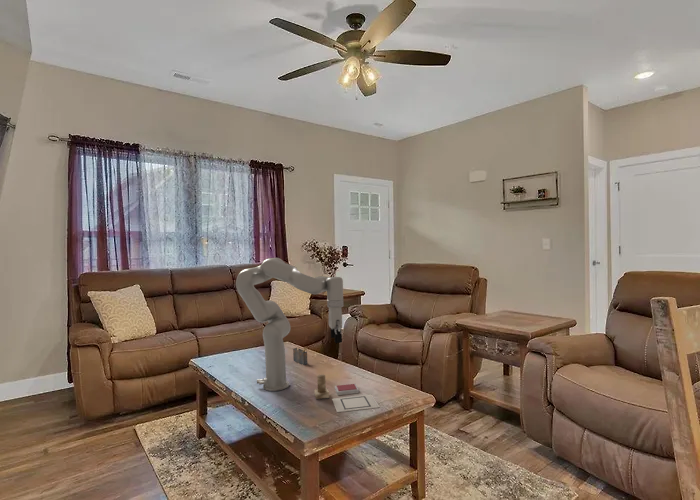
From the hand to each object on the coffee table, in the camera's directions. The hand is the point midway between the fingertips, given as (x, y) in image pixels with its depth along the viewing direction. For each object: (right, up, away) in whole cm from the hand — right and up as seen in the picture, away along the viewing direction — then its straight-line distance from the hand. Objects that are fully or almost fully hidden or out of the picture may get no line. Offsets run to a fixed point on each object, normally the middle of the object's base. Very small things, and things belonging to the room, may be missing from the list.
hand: (336, 340), depth 187 cm
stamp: (-6, -24, -7) cm, 26 cm away
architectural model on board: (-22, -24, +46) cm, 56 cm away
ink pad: (+5, -23, -1) cm, 24 cm away
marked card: (+9, -24, -16) cm, 30 cm away
